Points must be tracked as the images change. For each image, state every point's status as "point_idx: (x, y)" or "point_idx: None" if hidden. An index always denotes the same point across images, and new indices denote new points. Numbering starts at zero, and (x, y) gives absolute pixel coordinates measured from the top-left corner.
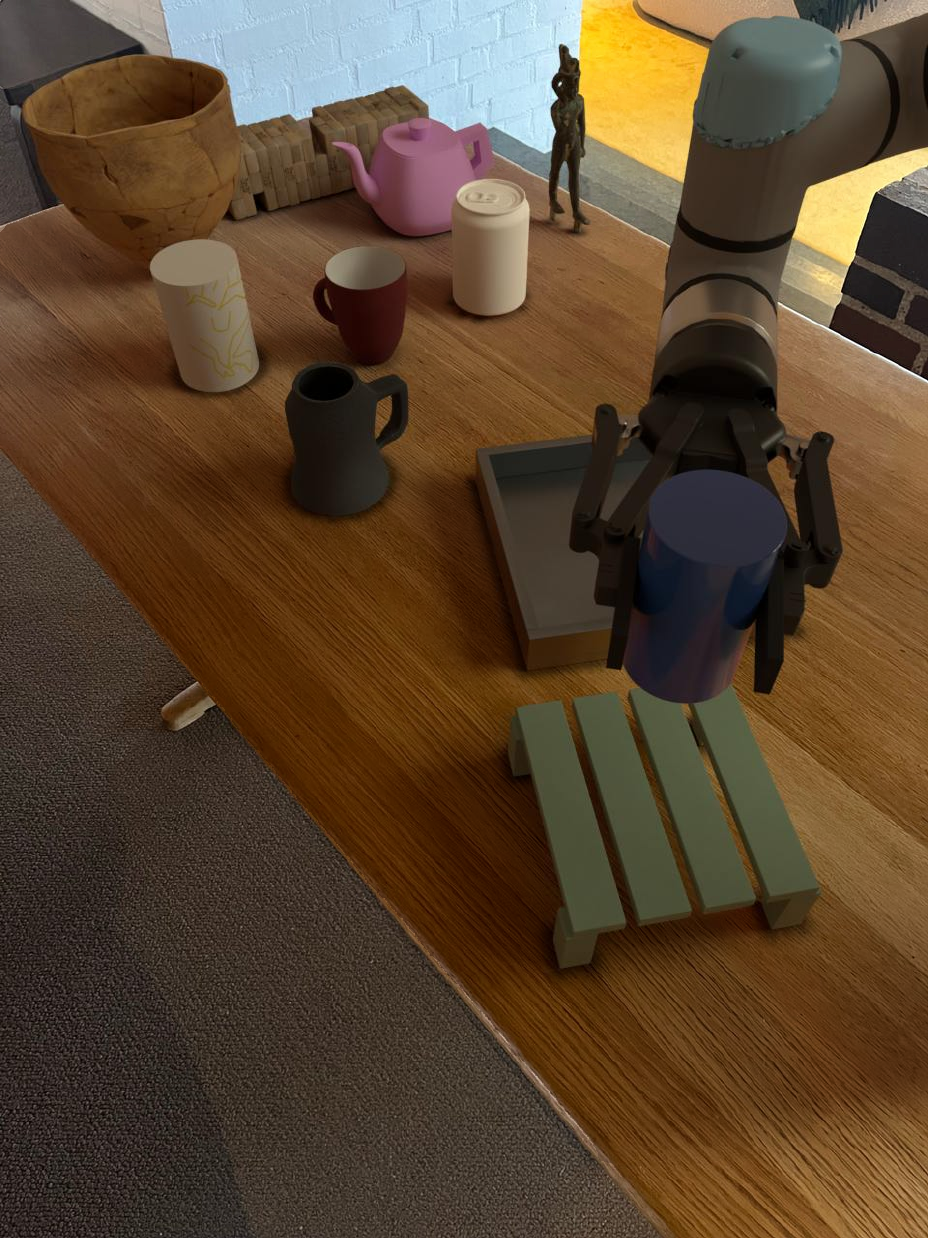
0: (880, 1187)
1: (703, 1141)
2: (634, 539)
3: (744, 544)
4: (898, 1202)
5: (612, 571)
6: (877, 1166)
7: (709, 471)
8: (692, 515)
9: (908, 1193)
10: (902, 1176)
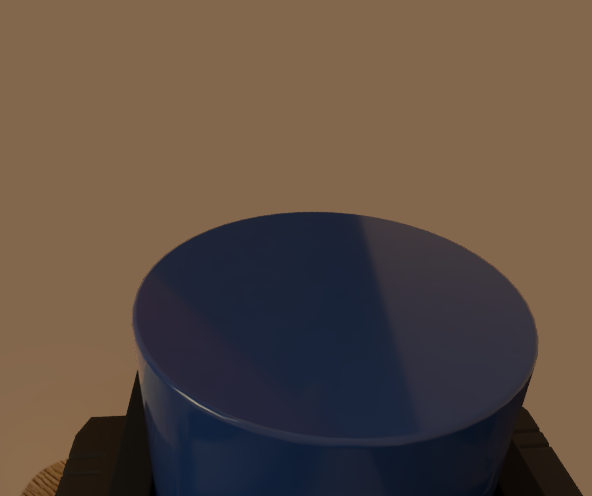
0: (55, 480)
1: None
2: (519, 492)
3: (251, 245)
4: (44, 475)
5: None
6: (52, 492)
7: (415, 428)
8: (395, 281)
9: (34, 482)
10: (34, 491)
